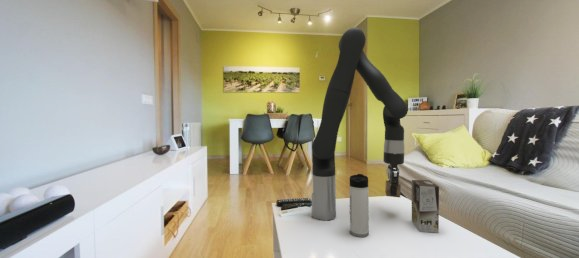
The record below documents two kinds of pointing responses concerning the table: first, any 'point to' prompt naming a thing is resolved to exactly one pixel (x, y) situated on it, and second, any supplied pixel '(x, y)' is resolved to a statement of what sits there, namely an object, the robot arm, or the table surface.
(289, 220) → the table surface
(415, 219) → the coffee box
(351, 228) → the travel mug
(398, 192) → the walnut block
